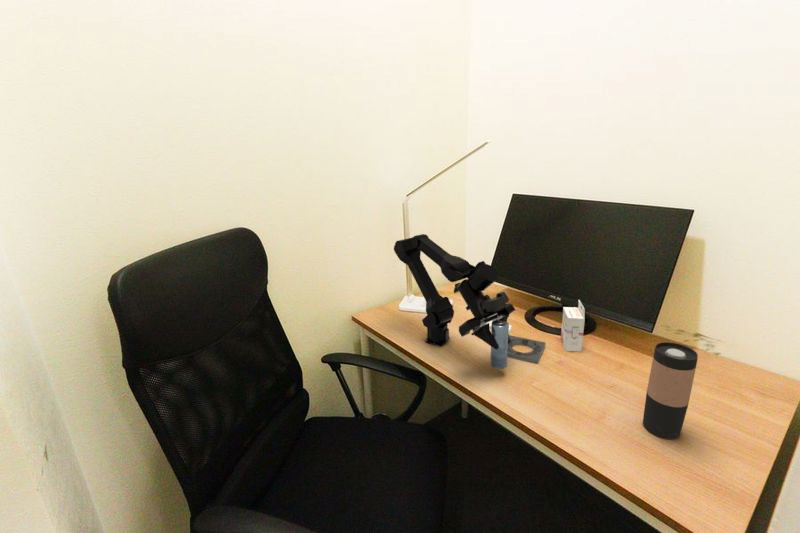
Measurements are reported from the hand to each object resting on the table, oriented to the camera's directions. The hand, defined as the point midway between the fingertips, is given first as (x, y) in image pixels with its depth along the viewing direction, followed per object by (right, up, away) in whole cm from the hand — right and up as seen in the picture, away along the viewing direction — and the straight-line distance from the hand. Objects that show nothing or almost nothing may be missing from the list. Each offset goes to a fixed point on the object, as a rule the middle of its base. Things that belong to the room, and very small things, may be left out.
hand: (503, 346), depth 106 cm
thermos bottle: (-1, -6, +3) cm, 7 cm away
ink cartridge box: (+26, -4, +17) cm, 32 cm away
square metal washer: (+10, -5, +16) cm, 19 cm away
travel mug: (+31, -15, -19) cm, 39 cm away
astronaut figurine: (+6, 0, +32) cm, 33 cm away
